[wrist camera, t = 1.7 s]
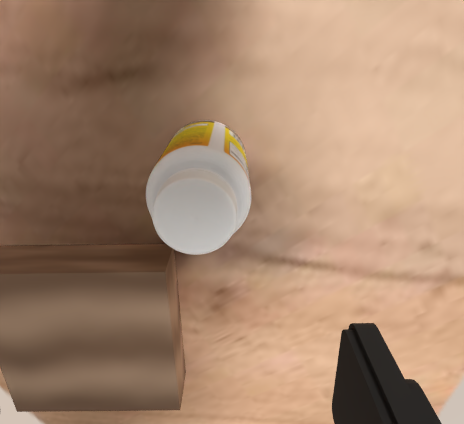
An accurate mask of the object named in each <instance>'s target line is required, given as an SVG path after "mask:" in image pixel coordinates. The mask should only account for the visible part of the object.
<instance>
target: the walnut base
mask: <svg viewBox="0 0 464 424" xmlns="http://www.w3.org/2000/svg"><path fill="white" fill-rule="evenodd" d="M0 367H1V370H2V373H3V375H4V378H5V381H6V383H7V386H8V389H9V391H10V394H11V397H12V399H13V402H14V405H15V407H16V410H17V411H20V412H22V411H130V410H180V407H181V401H182V394H183V387H184V380H185V373H186V371H185V360H184V349H183V338H182V328H181V317H180V306H179V295H178V284H177V274H176V263H175V252H174V249H173V248H171V247H170V246H168V245H167V244H115V245H36V246H0Z"/></svg>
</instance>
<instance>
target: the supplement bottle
mask: <svg viewBox="0 0 464 424" xmlns="http://www.w3.org/2000/svg"><path fill="white" fill-rule="evenodd" d="M146 202H147V206H148V210H149V212H150V215H151V217H152V220H153V224H154V227H155V230H156V232H157V234H158V235H159V237H160V238H161V239H162V240H163V241H164V242H165V243H166V244H167V245H168V246H170V247H171V248H173V249H175V250H177V251H179V252H181V253H185V254H191V255H200V254H207V253H210V252H213V251H215V250H217V249H219V248H220V247H222V246H223V245H224V244H225V243H226V242H227V241H228V240H229V239H230V237H231V236H232V235H233V234H234V233H235V232H236V231H237V230H238V229H239V228H240V227H241V225H242V224H243V223H244V221H245V219H246V218H247V215H248V213H249V210H250V205H251V186H250V180H249V173H248V166H247V159H246V153H245V149H244V146H243V143H242V141H241V140H240V138H239V137H238V135H237V134H236V133H235V132H234V131H233V130H232V129H230V128H229V127H228V126H226V125H224V124H222V123H219V122H216V121H211V120H200V121H195V122H192V123H190V124H187V125H186V126H184V127H183V128H181V129H180V130H179V131H178V132H177V133H176V134H175V135H174V137H173V138H172V140H171V141H170V143H169V145H168V146H167V148H166V149H165V151H164V153H163V154H162V156H161V157H160V159H159V160H158V162H157V164H156V165H155V167H154V168H153V170H152V172H151V174H150V177H149V179H148V182H147V187H146Z"/></svg>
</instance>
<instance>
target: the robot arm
mask: <svg viewBox="0 0 464 424" xmlns="http://www.w3.org/2000/svg"><path fill="white" fill-rule="evenodd" d="M332 413H333V419H334V423H335V424H441V422H440V420H439V418H438V417H437V415H436V413H435V411H434V410H433V408H432V406H431V404H430V402H429V401H428V399H427V397H426V395H425V394H424V392H423V390H422V388H421V387H420V386H419V384H418V383H417V382H416V381H415V380H412V379H404V377H403V375H402V373H401V371H400V369H399V368H398V366H397V364H396V362H395V360H394V358H393V356H392V354H391V352H390V350H389V349H388V347H387V345H386V343H385V341H384V339H383V337H382V335H381V333H380V332H379V330H378V328H377V326H376V325H375V324H374V323H352V324H350V326H349V329H348V330H343V331H342V334H341V342H340V349H339V356H338V364H337V371H336V379H335V386H334V393H333V401H332Z"/></svg>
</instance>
